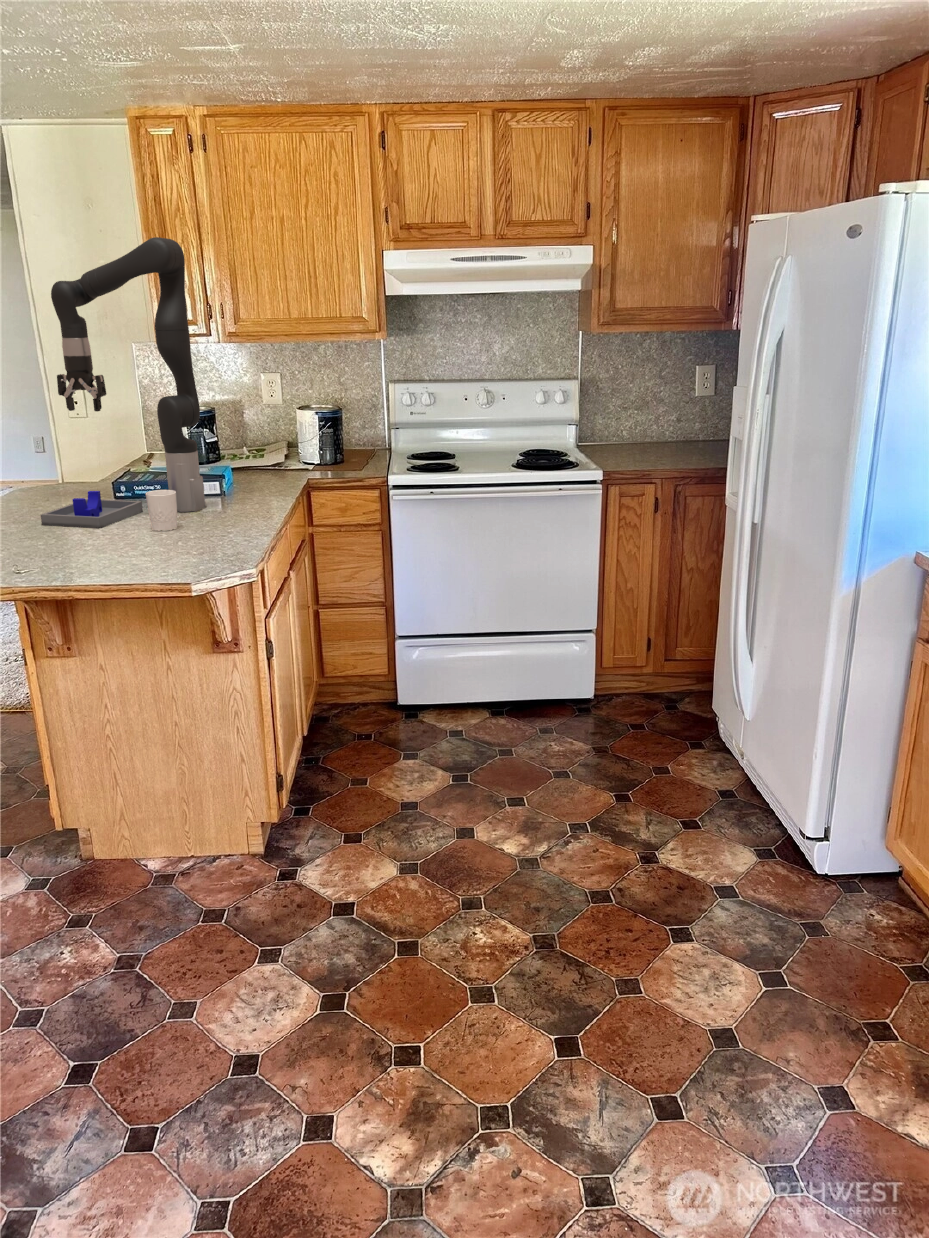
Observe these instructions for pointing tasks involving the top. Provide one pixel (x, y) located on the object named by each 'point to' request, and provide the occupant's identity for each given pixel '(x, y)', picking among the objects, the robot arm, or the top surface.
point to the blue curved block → (88, 505)
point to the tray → (109, 515)
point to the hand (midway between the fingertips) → (84, 411)
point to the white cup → (162, 509)
